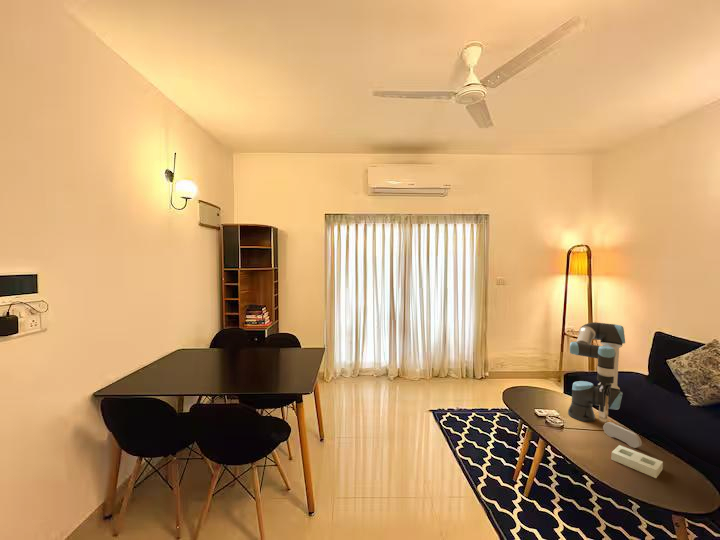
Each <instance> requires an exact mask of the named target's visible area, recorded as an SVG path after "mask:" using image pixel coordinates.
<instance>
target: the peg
mask: <svg viewBox="0 0 720 540" xmlns="http://www.w3.org/2000/svg"><path fill="white" fill-rule="evenodd" d="M605 406H606V410H605V418H603V417H600V416H599V415H598V417H599V418H598V420H599V421H600V422H604V423H608V416H609V408H608V396H606V400H605ZM607 415H608V416H607Z"/></svg>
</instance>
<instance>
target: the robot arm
mask: <svg viewBox="0 0 720 540" xmlns="http://www.w3.org/2000/svg"><path fill="white" fill-rule="evenodd" d="M593 340H597V341H600V344H601V345H596V344H592V341H593ZM623 344H624V345H625V344H626V336H625V327H624V326H622V325H621V324H620V325H619V324H615V323H605V322H604V323H603V322H596V321H595V322H588V323H585V324H583V325H582V326H580V327H579V328H578V336H577V339H576V341H571V342H570V343H569V353H570V355H576V356H581V357H588V358H593V359H597V366H596V370H597V371H596V372H597V373H596V380H597V381H598V382H599V383H597V386H595V385H594V383H592V382H590V381H586V380H585V381H584V380H579V381H574V382H573V383H572V388H571V404H570V405H569V408H568V410H567V411H568V412H567V414H568V416H569V417H571V418H572V419H575V420H578V421H579V422H580V421H582V422H588V423H592V422H595V421H596V415H595V411H594V409H593V405H594V406H599V407H598V417H599V416H600V417H603V418H605V410H606V406H605V400H606V396H608V410H617V411H618V410H619V409H620V407H621V403H622V398H623V391H621V389H620V387H619V386H618V377H619V362H620V361H619V357H620V348H621V347H623ZM608 416H609V414H608V415H607V417H608Z"/></svg>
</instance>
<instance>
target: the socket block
mask: <svg viewBox="0 0 720 540" xmlns="http://www.w3.org/2000/svg"><path fill="white" fill-rule="evenodd" d="M610 455H611V461H613V462H616V463H619V464H620V465H621V464H622V465H623V466H625V467H628V468H631V469H633V470H635V471H637V472H640V473H643V474H645V475H647V476H649V477H652V478H654V479H657V478H658V477H659V475H660V474H661V472H662V471H663V468H664V461H663V460H661V459H660V460H659V459H657V458H655V457H651V456H649V455H647V454H644V453H641V452H639V451H636V450H633V449H632V448H628V447H626V446H624V445H620V444H619V445H618V446H617V447H615V449H613V450H612V451H611V454H610Z"/></svg>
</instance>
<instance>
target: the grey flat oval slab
mask: <svg viewBox="0 0 720 540" xmlns="http://www.w3.org/2000/svg"><path fill="white" fill-rule="evenodd" d="M602 429H603V431H604V433H605V434H606V435H607V436H608V437H610V438H615V439H617V440H619V441H621V442H623V443H626V445H628V447H631V448H633V449H637V448H641V446H642V439H641V438H640V436H639V435H638V433H636V432H634V431H632V430H629V429H627V428H624V427H623V426H621V425H618V424H616V423H614V422H612V421H611V422H610V421H607V422H604V424H603V426H602Z"/></svg>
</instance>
